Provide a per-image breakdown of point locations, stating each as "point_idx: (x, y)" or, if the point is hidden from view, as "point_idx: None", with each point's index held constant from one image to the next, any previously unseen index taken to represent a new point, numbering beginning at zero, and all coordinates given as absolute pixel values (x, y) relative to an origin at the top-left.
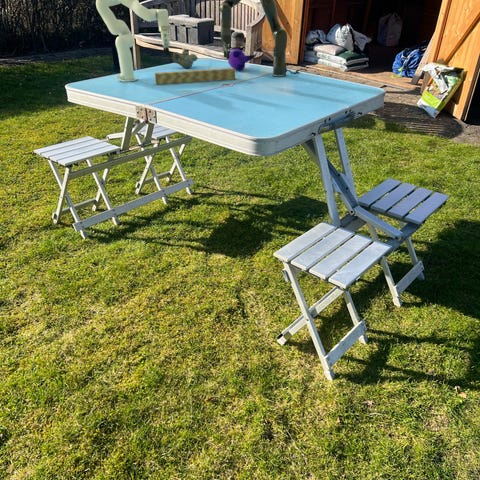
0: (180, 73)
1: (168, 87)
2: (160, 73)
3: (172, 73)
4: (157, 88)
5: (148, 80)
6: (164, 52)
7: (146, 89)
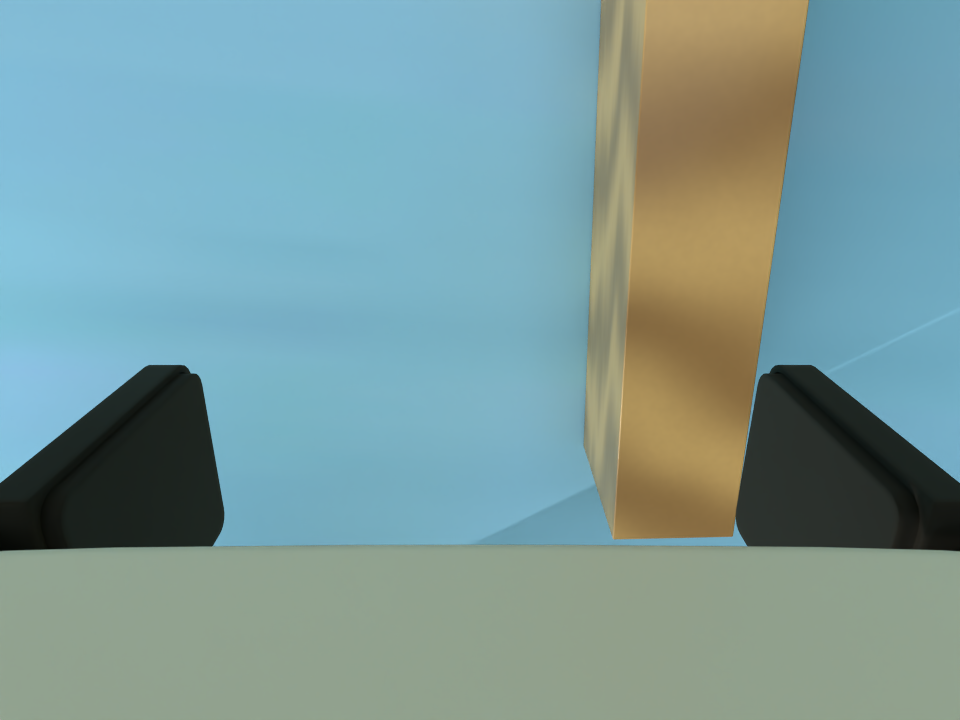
0: (798, 13)
1: (953, 293)
2: (719, 449)
3: (773, 212)
4: (929, 444)
5: (311, 522)
6: (204, 534)
7: None
